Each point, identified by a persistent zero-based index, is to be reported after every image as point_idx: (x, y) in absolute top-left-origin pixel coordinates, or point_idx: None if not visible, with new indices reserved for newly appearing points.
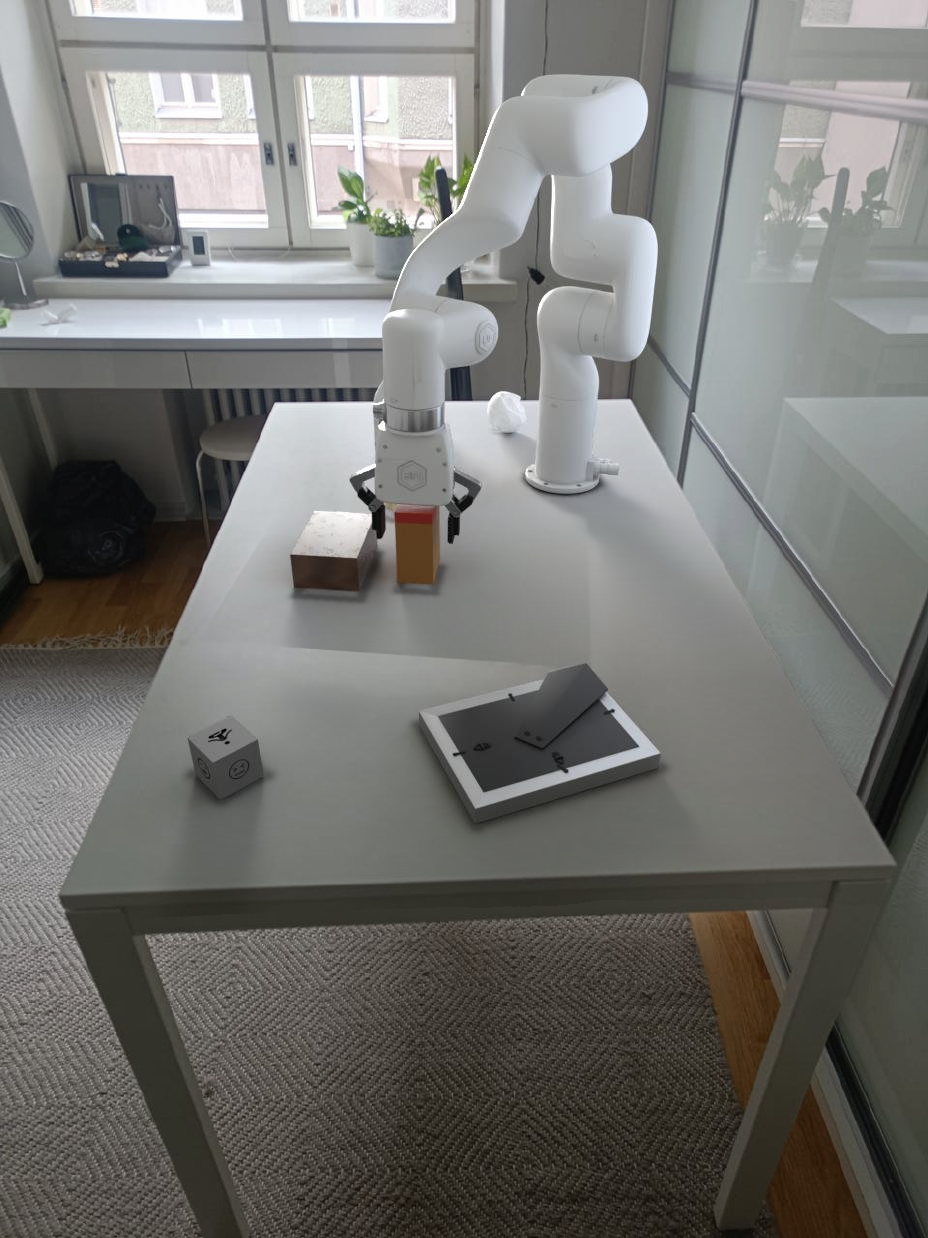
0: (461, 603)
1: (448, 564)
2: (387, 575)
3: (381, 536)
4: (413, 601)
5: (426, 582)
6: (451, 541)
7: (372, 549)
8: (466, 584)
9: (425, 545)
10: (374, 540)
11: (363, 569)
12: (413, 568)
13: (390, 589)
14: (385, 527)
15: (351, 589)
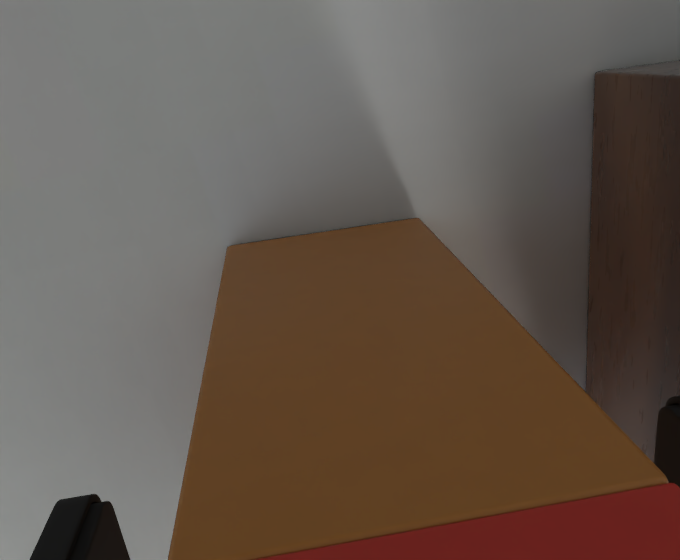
0: (39, 187)
1: None
2: None
3: (676, 412)
4: (308, 138)
5: (264, 259)
6: (60, 509)
7: None
8: (88, 371)
9: (268, 386)
10: None
11: (658, 225)
12: (350, 279)
13: (458, 222)
14: None
15: (677, 66)
